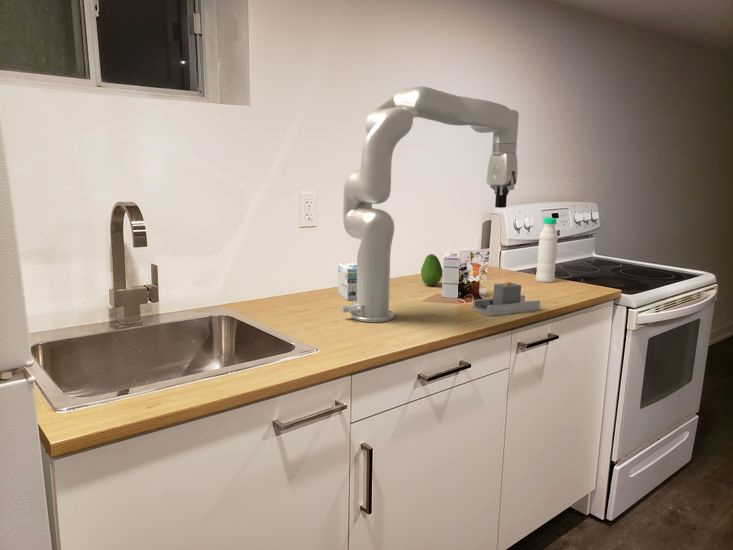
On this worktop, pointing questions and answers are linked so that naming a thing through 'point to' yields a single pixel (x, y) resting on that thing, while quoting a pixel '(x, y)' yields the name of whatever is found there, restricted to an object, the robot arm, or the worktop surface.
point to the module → (506, 293)
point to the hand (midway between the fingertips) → (500, 207)
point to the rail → (505, 306)
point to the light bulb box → (347, 280)
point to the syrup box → (450, 275)
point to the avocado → (431, 270)
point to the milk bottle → (547, 251)
